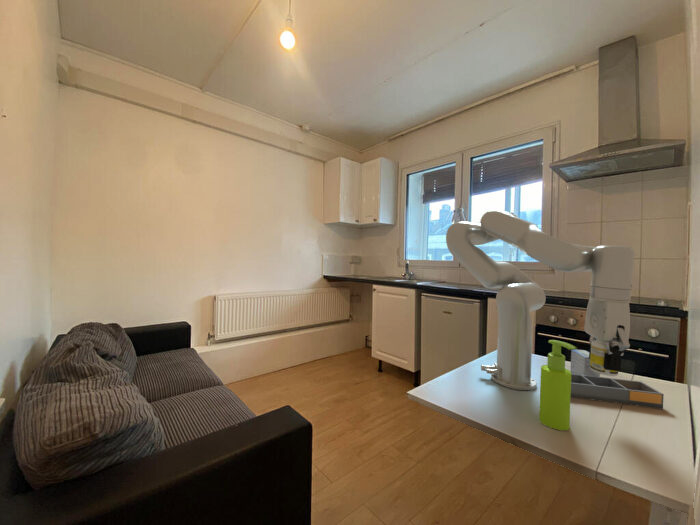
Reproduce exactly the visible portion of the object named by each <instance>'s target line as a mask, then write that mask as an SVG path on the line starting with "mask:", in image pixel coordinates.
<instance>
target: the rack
mask: <svg viewBox="0 0 700 525" xmlns="http://www.w3.org/2000/svg"><path fill="white" fill-rule="evenodd" d="M575 397H577V398H576V399H583V398H584V399H583V400H590V399H594V400H593V401H598V400H601V401H600V402H606V401H607V402H608V403H613V402H617V403H616V404H621V403H623V405H629V404H632V405H631V406H636V405H638V407H644V406H645V408H652V409H658V410H659V409H660V410H663V409H664V393H662V392H660V391H658V390H657V389H656V388H653V387H652V386H650V385H648V384H647V383H644V382H643V381H639V380H630V379H624V378H623V379H621V378H614V377H612V378H611V377H605V376H600V377H596V376H587V375H579V374H571V398H575ZM607 402H606V403H607Z"/></svg>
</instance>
